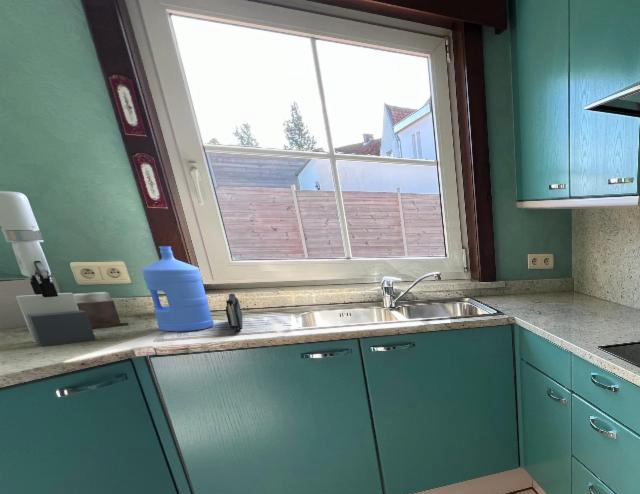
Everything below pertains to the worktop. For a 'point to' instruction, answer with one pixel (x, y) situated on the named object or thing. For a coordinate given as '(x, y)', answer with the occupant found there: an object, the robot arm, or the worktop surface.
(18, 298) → the white book
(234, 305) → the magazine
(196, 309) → the water jug
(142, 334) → the worktop surface
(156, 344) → the worktop surface
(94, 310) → the book rack
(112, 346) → the worktop surface
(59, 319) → the dark grey rectangular block
